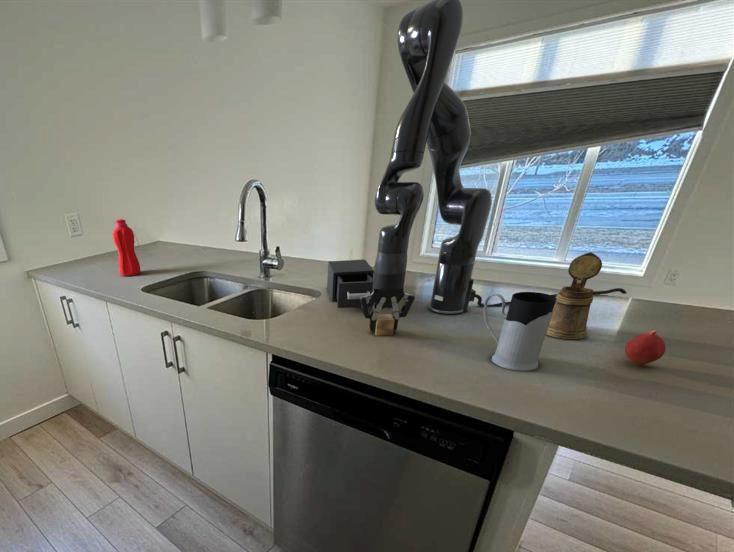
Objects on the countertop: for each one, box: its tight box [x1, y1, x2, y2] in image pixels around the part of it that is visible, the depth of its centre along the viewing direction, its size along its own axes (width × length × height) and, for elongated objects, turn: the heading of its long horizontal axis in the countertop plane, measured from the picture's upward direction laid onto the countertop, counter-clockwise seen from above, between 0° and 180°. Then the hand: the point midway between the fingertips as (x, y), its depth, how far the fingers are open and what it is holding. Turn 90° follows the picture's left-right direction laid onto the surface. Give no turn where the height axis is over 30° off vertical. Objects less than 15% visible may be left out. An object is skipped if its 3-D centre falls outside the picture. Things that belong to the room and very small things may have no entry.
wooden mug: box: [546, 251, 603, 340], centre depth 98 cm, size 9×14×18 cm, turn 139°
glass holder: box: [483, 291, 557, 372], centre depth 89 cm, size 9×14×15 cm, turn 24°
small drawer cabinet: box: [326, 258, 374, 302], centre depth 140 cm, size 16×13×10 cm
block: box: [374, 313, 395, 336], centre depth 110 cm, size 4×4×4 cm
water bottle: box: [112, 218, 141, 277], centre depth 189 cm, size 9×11×25 cm
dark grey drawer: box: [335, 274, 374, 309], centre depth 129 cm, size 19×12×8 cm, turn 173°
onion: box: [624, 329, 666, 367], centre depth 83 cm, size 6×6×8 cm
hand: (382, 331), depth 110 cm, fingers closed on block, 4 cm apart
